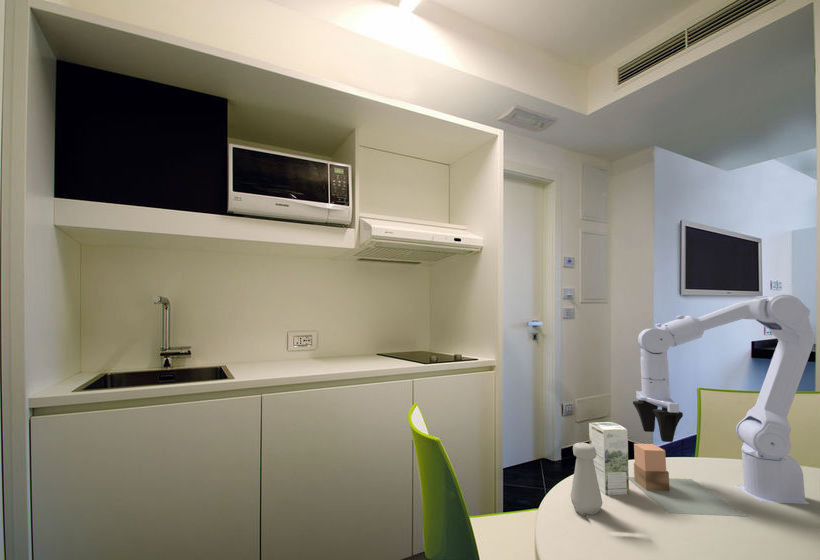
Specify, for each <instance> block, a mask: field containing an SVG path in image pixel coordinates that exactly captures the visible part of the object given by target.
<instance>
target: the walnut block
mask: <svg viewBox="0 0 820 560" xmlns="http://www.w3.org/2000/svg"><path fill="white" fill-rule="evenodd" d="M633 473H634V474H633V477H634V479H635V481H636V482H637V483H638V484H639V485H640V486H642V487H643V488H644V489H645V490H654V491H670V488H669V478H670V472H669V471H668V470H666V472H659V471H645V470H643V469H642V468H640V467H639V466H638V465H636V464H635V462H634V463H633Z"/></svg>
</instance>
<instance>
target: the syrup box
mask: <svg viewBox="0 0 820 560" xmlns="http://www.w3.org/2000/svg"><path fill="white" fill-rule="evenodd" d="M588 435H589V436H588V437H589V438H588V439H589V441H588V442H589V443H588V444H591V445H592V446H594V447H595V449H596V458H594V459H593V461H594V466H595V471H596V475H597V480H598V484H599V489H600V493H602V494H603V495H604V496H615V495H629V494H630V483H629V481H630V480H629V477H630V476H629V442H628V439H629V438H628V429H627V428H626V427H624V426H622V425H620V424H618V423H615V422H612V421H606V422H605V421H604V422H603V421H602V422H589V423H588Z"/></svg>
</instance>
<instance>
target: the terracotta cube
mask: <svg viewBox="0 0 820 560" xmlns="http://www.w3.org/2000/svg"><path fill="white" fill-rule="evenodd" d="M633 451H634V452H633V453H634V454H633V455H634V463H635V464H636V465H638V466H639V467H640V468H642V469H643V470H645V471H659V472H666V471H667V463H666V461H667V459H666V450H665V449H664V448H661V447H660V446H658V445H656V444H654V443H633Z"/></svg>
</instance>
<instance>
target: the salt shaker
mask: <svg viewBox="0 0 820 560" xmlns="http://www.w3.org/2000/svg"><path fill="white" fill-rule="evenodd" d="M572 452H573V456H575V457H576V459H575V464H574V465H575V466H574V472H573V478H572V484H571V489H570V501H571V504H572V506H573V509H574V511H575V512H576V513H578V514H579V515H581V516H584V517H587V516H588V515H597V514H598V513H600V511H601V508H602V506H603V499H602V494H601V493H602V492H600V489H599V484H598V480H597V475H596V471H595V466H594V461H593V459H594V458H596V449H595V447H594V446H592V445H591V444H589V443H586V442H576V443H574V444H573V445H572Z"/></svg>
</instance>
